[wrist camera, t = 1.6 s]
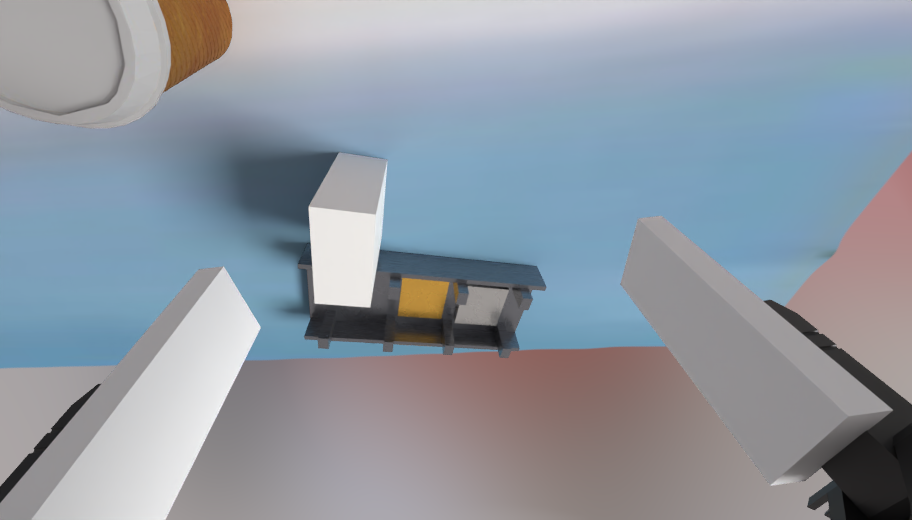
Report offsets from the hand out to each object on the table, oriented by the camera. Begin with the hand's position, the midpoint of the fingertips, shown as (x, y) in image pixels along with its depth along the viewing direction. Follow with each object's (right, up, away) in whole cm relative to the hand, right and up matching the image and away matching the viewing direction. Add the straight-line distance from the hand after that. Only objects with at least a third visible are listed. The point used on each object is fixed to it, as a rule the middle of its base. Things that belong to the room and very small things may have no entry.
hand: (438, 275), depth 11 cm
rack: (-3, -3, +27) cm, 27 cm away
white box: (-8, +6, +20) cm, 22 cm away
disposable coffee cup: (-18, +17, +11) cm, 27 cm away
